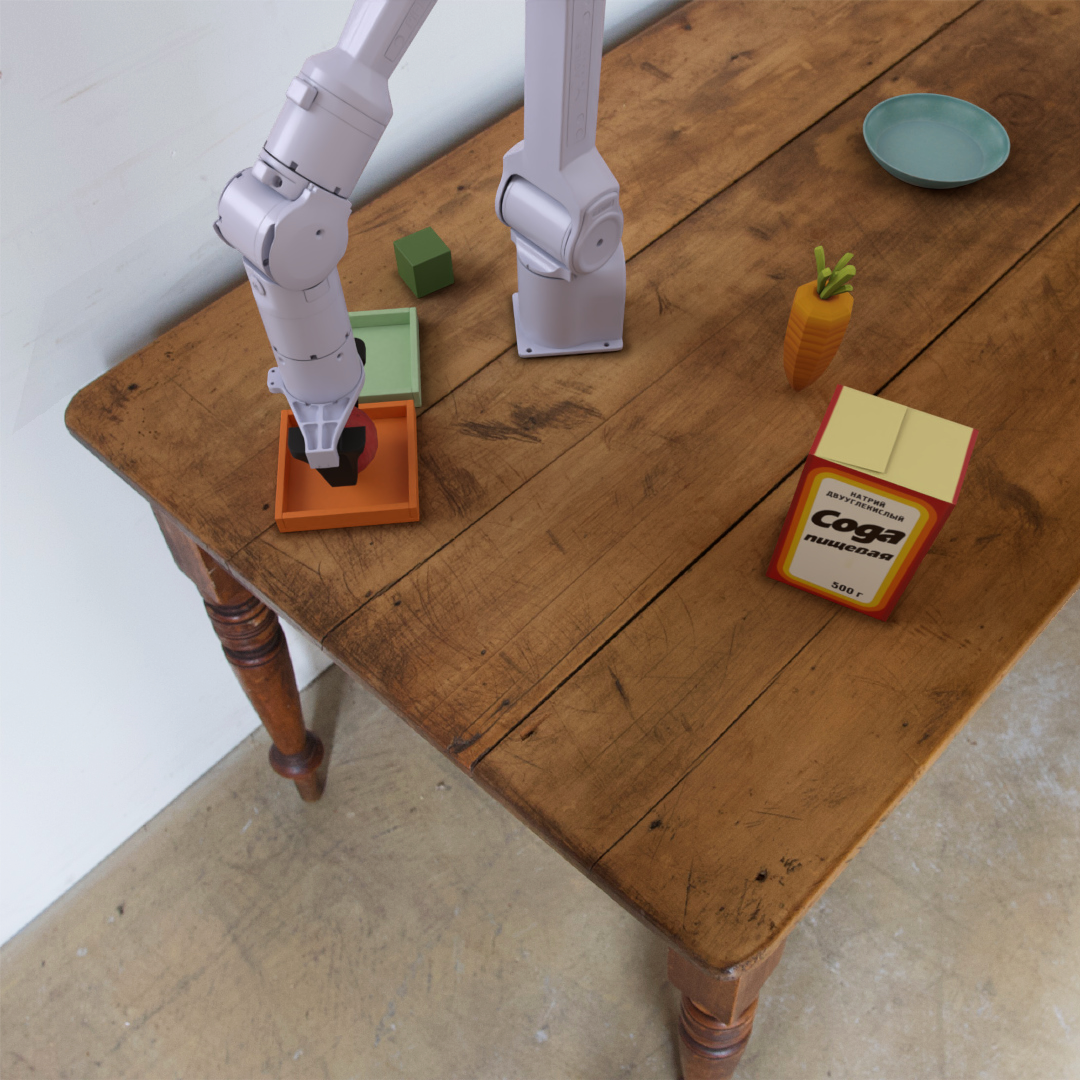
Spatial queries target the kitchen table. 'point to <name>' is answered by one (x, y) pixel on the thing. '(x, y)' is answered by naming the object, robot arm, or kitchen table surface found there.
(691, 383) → the kitchen table surface
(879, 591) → the baking soda box
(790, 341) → the carrot
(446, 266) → the green block
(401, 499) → the orange tray
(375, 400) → the green tray
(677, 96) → the kitchen table surface
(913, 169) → the saucer
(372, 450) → the red pomegranate
